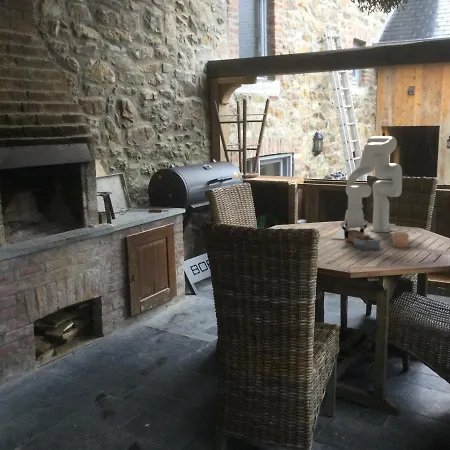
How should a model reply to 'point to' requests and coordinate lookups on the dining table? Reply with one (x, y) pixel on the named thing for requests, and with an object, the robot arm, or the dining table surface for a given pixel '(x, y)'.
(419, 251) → the dining table surface
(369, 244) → the bracket
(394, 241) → the brown round cylinder
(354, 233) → the rail
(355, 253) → the dining table surface
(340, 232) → the baseboard molding
